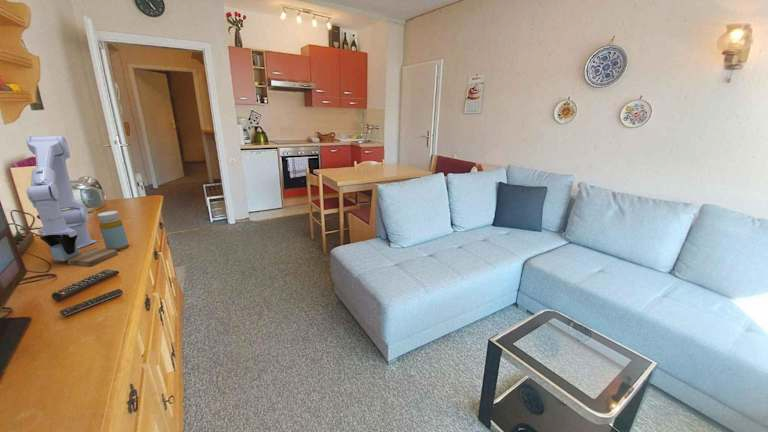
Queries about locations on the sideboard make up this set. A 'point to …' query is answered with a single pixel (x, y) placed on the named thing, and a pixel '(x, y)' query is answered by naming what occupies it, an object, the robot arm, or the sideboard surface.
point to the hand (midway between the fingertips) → (65, 252)
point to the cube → (62, 252)
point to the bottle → (112, 230)
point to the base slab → (92, 257)
